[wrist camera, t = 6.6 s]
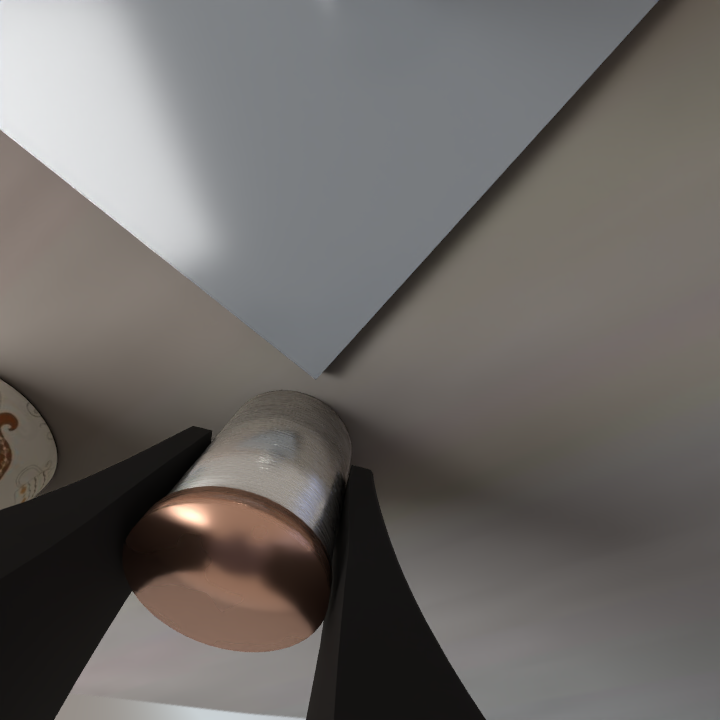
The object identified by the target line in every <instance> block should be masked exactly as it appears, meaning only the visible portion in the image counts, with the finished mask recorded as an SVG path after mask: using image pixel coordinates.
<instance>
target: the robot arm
mask: <svg viewBox="0 0 720 720" xmlns="http://www.w3.org/2000/svg"><path fill="white" fill-rule="evenodd" d="M211 436H212V431H211V430H207V429H203V428H199V427H195V426H192V427H190V428H188V429H186V430H184V431H182V432H180V433H178V434H176V435H174V436H172V437H170V438H168V439H166V440H165V441H163V442H161V443H159V444H157V445H155V446H153V447H151V448H149V449H147V450H145V451H143V452H141V453H139V454H137V455H135V456H133V457H131V458H129V459H127V460H125V461H122V462H120V463H118V464H116V465H114V466H111V467H109V468H107V469H105V470H103V471H100V472H98V473H96V474H94V475H91V476H89V477H87V478H85V479H82V480H80V481H78V482H75V483H73V484H70V485H68V486H65V487H63V488H60V489H58V490H55V491H52V492H50V493H47V494H45V495H42V496H39V497H37V498H34V499H31V500H28V501H25V502H23V503H20V504H16V505H13V506H10V507H7V508H4V509H1V510H0V720H54V719H55V717H56V715H57V714H58V712H59V710H60V708H61V707H62V705H63V703H64V701H65V700H66V698H67V696H68V695H69V693H70V691H71V689H72V688H73V686H74V684H75V682H76V681H77V679H78V677H79V676H80V674H81V672H82V671H83V669H84V667H85V666H86V664H87V663H88V661H89V659H90V658H91V656H92V654H93V653H94V651H95V649H96V648H97V646H98V644H99V643H100V641H101V639H102V638H103V636H104V634H105V633H106V631H107V630H108V628H109V626H110V625H111V623H112V622H113V620H114V618H115V617H116V615H117V614H118V612H119V610H120V609H121V607H122V606H123V604H124V602H125V601H126V599H127V598H128V596H129V595H130V593H131V592H132V589H131V587H130V585H129V584H128V581H127V579H126V576H125V574H124V569H123V564H122V552H123V546H124V543H125V541H126V538H127V536H128V535H129V533H130V532H131V530H132V529H133V527H134V526H135V525H136V524H137V523H138V522H139V521H140V519H141V518H142V517H143V516H144V515H145V514H146V512H147V511H148V510H149V509H150V508H151V507H152V506H153V505H154V504H155V503H156V502H158V501H159V500H161V499H162V498H163V497H165V496H167V495H168V494H169V492H170V491H171V490H172V489H173V488H174V486H175V485H176V484H177V483H178V482H179V480H180V479H181V478H182V477H183V476H184V475H185V473H186V472H187V471H188V470H189V469H190V467H191V466H192V465H193V464H194V463H195V461H196V460H197V459H198V458H199V457H200V456H201V454H202V453H203V452H204V451H205V450H206V448H207V447H208V446H209V445H210V444H211ZM331 566H332V574H333V579H332V587H331V593H330V599H329V604H328V610H327V613H326V616H325V618H324V622H323V630H322V637H321V643H320V649H319V654H318V660H317V665H316V670H315V676H314V681H313V686H312V692H311V697H310V702H309V707H308V712H307V718H306V720H486V719H485V718H484V716H483V715H482V713H481V712H480V710H479V709H478V707H477V705H476V704H475V702H474V701H473V699H472V698H471V696H470V695H469V693H468V692H467V690H466V689H465V687H464V685H463V684H462V682H461V680H460V679H459V677H458V676H457V674H456V672H455V671H454V669H453V668H452V666H451V664H450V663H449V661H448V659H447V657H446V656H445V654H444V652H443V650H442V649H441V647H440V645H439V643H438V641H437V640H436V638H435V636H434V634H433V633H432V631H431V629H430V627H429V625H428V624H427V622H426V620H425V618H424V616H423V614H422V612H421V610H420V608H419V606H418V604H417V602H416V600H415V598H414V596H413V594H412V592H411V590H410V588H409V585H408V583H407V581H406V579H405V577H404V574H403V572H402V570H401V567H400V565H399V562H398V560H397V557H396V554H395V552H394V549H393V547H392V544H391V541H390V538H389V535H388V532H387V529H386V526H385V523H384V520H383V516H382V513H381V510H380V506H379V502H378V498H377V494H376V489H375V484H374V478H373V473H372V471H371V470H369V469H365V468H361V467H357V466H353V465H352V466H351V469H350V473H349V477H348V481H347V484H346V488H345V493H344V499H343V504H342V510H341V515H340V520H339V526H338V531H337V536H336V542H335V547H334V553H333V558H332V563H331Z"/></svg>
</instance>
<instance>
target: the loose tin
mask: <svg viewBox="0 0 720 720" xmlns="http://www.w3.org/2000/svg"><path fill="white" fill-rule="evenodd" d="M351 455H352V444H351V439H350V436H349V433H348V430H347V428H346V426H345V424H344V423H343V421H342V420H341V418H340V417H339V416H338V415H337V414H336V413H335V412H334V411H333V410H332V409H331V408H330V407H329V406H327V405H326V404H324V403H323V402H321V401H320V400H318V399H316V398H314V397H311V396H309V395H306V394H303V393H299V392H294V391H281V390H280V391H271V392H267V393H263V394H260V395H258V396H256V397H254V398H252V399H250V400H249V401H248V402H246V403H245V404H244V405H243V406H242V407H241V408H240V409H239V410H238V412H237V413H236V414H235V415H234V416H233V418H232V419H231V420H230V421H229V422H228V423H227V425H226V426H225V427H224V428H223V429H222V431H221V432H220V433H219V434H218V435H217V437H216V438H215V439H214V440H213V441H212V442H211V444H210V445H209V446H208V447H207V448H206V450H205V451H204V452H203V453H202V454H201V456H200V457H199V458H198V459H197V460H196V461H195V463H194V464H193V465H192V466H191V467H190V469H189V470H188V471H187V472H186V473H185V475H184V476H183V477H182V478H181V479H180V480H179V482H178V483H177V484H176V485H175V486H174V488H173V489H172V490H171V491H170V492H169V494H168V495H167V496H165V497H163V498H162V499H161V500H159V501H158V502H156V503H155V504H154V505H153V506H152V507H151V508H150V509H149V510H148V511H147V512H146V514H145V515H144V516H143V517H142V518H141V519H140V521H139V522H138V523H137V524H136V525H135V526H134V527H133V529H132V530H131V532H130V533H129V535H128V536H127V538H126V541H125V543H124V546H123V552H122V564H123V569H124V574H125V576H126V579H127V581H128V584H129V585H130V587H131V589H132V591H133V592H134V594H135V595H136V596H137V598H138V599H139V601H140V602H141V603H142V604H143V605H144V606H145V607H146V608H147V609H148V610H149V611H150V612H151V613H152V614H153V615H154V616H155V617H157V618H158V619H159V620H161V621H162V622H163V623H165V624H166V625H168V626H169V627H171V628H172V629H174V630H176V631H177V632H179V633H181V634H183V635H185V636H187V637H189V638H192V639H194V640H196V641H199V642H202V643H205V644H207V645H210V646H214V647H218V648H222V649H227V650H233V651H242V652H267V651H274V650H280V649H283V648H287V647H290V646H293V645H295V644H297V643H300V642H301V641H303V640H305V639H306V638H308V637H309V636H310V635H312V634H313V633H314V632H315V631H316V630H317V629H318V627H319V626H320V625H321V623H322V622H323V620H324V618H325V616H326V613H327V610H328V604H329V599H330V593H331V587H332V579H333V574H332V566H331V563H332V558H333V553H334V547H335V542H336V536H337V531H338V526H339V520H340V515H341V510H342V504H343V499H344V493H345V488H346V483H347V477H348V472H349V467H350V461H351Z"/></svg>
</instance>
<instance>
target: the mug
mask: <svg viewBox="0 0 720 720" xmlns="http://www.w3.org/2000/svg"><path fill="white" fill-rule="evenodd" d="M56 465H57V451H56V446H55V442H54V439H53V436H52V434H51V432H50V430H49V428H48V426H47V424H46V423H45V421H44V420H43V418H42V417H41V415H40V414H39V413H38V411H37V410H36V409H35V408H34V407H33V406H32V405H31V403H30V402H29V401H28V400H27V399H26V398H25V397H24V396H22V395H21V394H20V393H19V392H18V391H16V390H15V389H14V388H13V387H11V386H10V385H8V384H7V383H5V382H4V381H2V380H1V379H0V510H1V509H4V508H7V507H10V506H13V505H16V504H20V503H23V502H25V501H28V500H31V499H33V498H34V497H35V496H36V495H37V494H38V493H39V492H40V491H41V490H42V489H43V488H44V487H45V486H46V485H47V484H48V482H49V481H50V480H51V478H52V477H53V475H54V472H55V470H56Z"/></svg>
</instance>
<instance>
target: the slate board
mask: <svg viewBox="0 0 720 720" xmlns="http://www.w3.org/2000/svg"><path fill="white" fill-rule="evenodd" d="M658 1H659V0H0V130H2V131H3V132H4V133H5V134H7V135H8V136H9V137H10V138H12V139H13V140H14V141H16V142H17V143H18V144H19V145H21V146H22V147H23V148H24V149H26V150H27V151H28V152H29V153H31V154H32V155H33V156H34V157H36V158H37V159H38V160H39V161H41V162H42V163H43V164H45V165H46V166H47V167H48V168H50V169H51V170H52V171H53V172H55V173H56V174H57V175H58V176H60V177H61V178H62V179H63V180H65V181H66V182H67V183H68V184H70V185H71V186H72V187H73V188H75V189H76V190H77V191H79V192H80V193H81V194H82V195H84V196H85V197H86V198H87V199H89V200H90V201H91V202H92V203H94V204H95V205H96V206H97V207H99V208H100V209H101V210H102V211H104V212H105V213H106V214H107V215H109V216H110V217H111V218H113V219H114V220H115V221H116V222H118V223H119V224H120V225H121V226H123V227H124V228H125V229H126V230H128V231H129V232H130V233H131V234H133V235H134V236H135V237H136V238H138V239H139V240H140V241H141V242H143V243H144V244H145V245H147V246H148V247H149V248H150V249H152V250H153V251H154V252H155V253H157V254H158V255H159V256H160V257H162V258H163V259H164V260H165V261H167V262H168V263H169V264H170V265H172V266H173V267H174V268H176V269H177V270H178V271H179V272H181V273H182V274H183V275H184V276H186V277H187V278H188V279H189V280H191V281H192V282H193V283H194V284H196V285H197V286H198V287H199V288H201V289H202V290H203V291H204V292H206V293H207V294H208V295H210V296H211V297H212V298H213V299H215V300H216V301H217V302H218V303H220V304H221V305H222V306H223V307H225V308H226V309H227V310H228V311H230V312H231V313H232V314H233V315H235V316H236V317H237V318H238V319H240V320H241V321H242V322H244V323H245V324H246V325H247V326H249V327H250V328H251V329H252V330H254V331H255V332H256V333H257V334H259V335H260V336H261V337H262V338H264V339H265V340H266V341H267V342H269V343H270V344H271V345H273V346H274V347H275V348H276V349H278V350H279V351H280V352H281V353H283V354H284V355H285V356H286V357H288V358H289V359H290V360H291V361H293V362H294V363H295V364H296V365H298V366H299V367H300V368H301V369H303V370H304V371H305V372H307V373H308V374H309V375H310V376H312V377H313V378H314V379H315V380H316V379H317V378H318V377H319V375H320V374H321V373H322V372H323V371H324V370H325V369H326V368H327V367H328V366H329V364H330V363H331V362H332V361H333V360H334V359H335V358H336V357H337V356H338V354H339V353H340V352H341V351H342V350H343V349H344V348H345V347H346V346H347V345H348V343H349V342H350V341H351V340H352V339H353V338H354V337H355V336H356V335H357V333H358V332H359V331H360V330H361V329H362V328H363V327H364V326H365V325H366V324H367V322H368V321H369V320H370V319H371V318H372V317H373V316H374V315H375V314H376V312H377V311H378V310H379V309H380V308H381V307H382V306H383V305H384V304H385V303H386V301H387V300H388V299H389V298H390V297H391V296H392V295H393V294H394V293H395V291H396V290H397V289H398V288H399V287H400V286H401V285H402V284H403V283H404V281H405V280H406V279H407V278H408V277H409V276H410V275H411V274H412V273H413V272H414V270H415V269H416V268H417V267H418V266H419V265H420V264H421V263H422V262H423V260H424V259H425V258H426V257H427V256H428V255H429V254H430V253H431V252H432V251H433V249H434V248H435V247H436V246H437V245H438V244H439V243H440V242H441V241H442V239H443V238H444V237H445V236H446V235H447V234H448V233H449V232H450V231H451V230H452V228H453V227H454V226H455V225H456V224H457V223H458V222H459V221H460V220H461V218H462V217H463V216H464V215H465V214H466V213H467V212H468V211H469V210H470V209H471V207H472V206H473V205H474V204H475V203H476V202H477V201H478V200H479V199H480V197H481V196H482V195H483V194H484V193H485V192H486V191H487V190H488V189H489V187H490V186H491V185H492V184H493V183H494V182H495V181H496V180H497V179H498V178H499V176H500V175H501V174H502V173H503V172H504V171H505V170H506V169H507V168H508V166H509V165H510V164H511V163H512V162H513V161H514V160H515V159H516V158H517V157H518V155H519V154H520V153H521V152H522V151H523V150H524V149H525V148H526V147H527V145H528V144H529V143H530V142H531V141H532V140H533V139H534V138H535V137H536V136H537V134H538V133H539V132H540V131H541V130H542V129H543V128H544V127H545V126H546V124H547V123H548V122H549V121H550V120H551V119H552V118H553V117H554V116H555V115H556V113H557V112H558V111H559V110H560V109H561V108H562V107H563V106H564V105H565V103H566V102H567V101H568V100H569V99H570V98H571V97H572V96H573V95H574V94H575V92H576V91H577V90H578V89H579V88H580V87H581V86H582V85H583V84H584V82H585V81H586V80H587V79H588V78H589V77H590V76H591V75H592V74H593V72H594V71H595V70H596V69H597V68H598V67H599V66H600V65H601V64H602V63H603V61H604V60H605V59H606V58H607V57H608V56H609V55H610V54H611V53H612V51H613V50H614V49H615V48H616V47H617V46H618V45H619V44H620V43H621V42H622V40H623V39H624V38H625V37H626V36H627V35H628V34H629V33H630V32H631V30H632V29H633V28H634V27H635V26H636V25H637V24H638V23H639V22H640V21H641V19H642V18H643V17H644V16H645V15H646V14H647V13H648V12H649V11H650V9H651V8H652V7H653V6H654V5H655V4H656V3H657V2H658Z"/></svg>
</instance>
